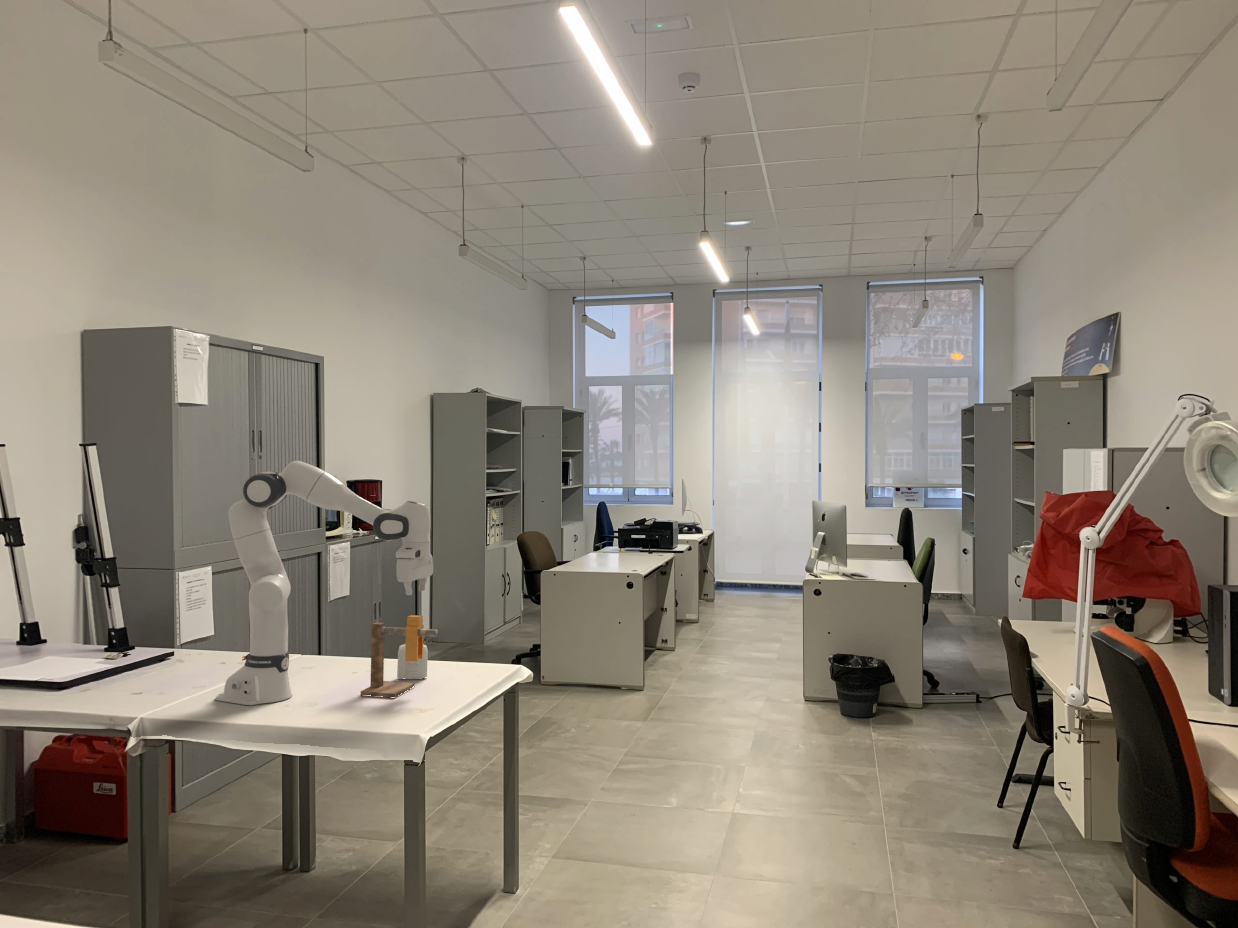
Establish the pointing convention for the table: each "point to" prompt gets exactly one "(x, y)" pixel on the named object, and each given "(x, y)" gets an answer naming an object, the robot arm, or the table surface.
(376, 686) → the stand
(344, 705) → the table surface
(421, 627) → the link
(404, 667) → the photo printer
